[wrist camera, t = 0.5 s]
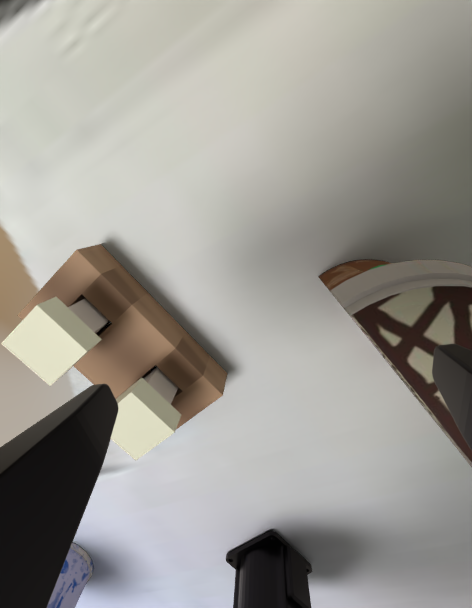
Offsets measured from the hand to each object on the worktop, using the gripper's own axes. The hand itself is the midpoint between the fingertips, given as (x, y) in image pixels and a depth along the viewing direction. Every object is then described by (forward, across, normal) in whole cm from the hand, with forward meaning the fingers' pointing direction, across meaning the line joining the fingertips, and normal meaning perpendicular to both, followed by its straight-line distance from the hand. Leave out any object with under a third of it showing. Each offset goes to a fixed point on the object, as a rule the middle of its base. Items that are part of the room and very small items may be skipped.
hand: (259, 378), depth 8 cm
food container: (+14, -9, +6) cm, 17 cm away
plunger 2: (+11, +9, +8) cm, 16 cm away
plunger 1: (+11, +13, +2) cm, 17 cm away
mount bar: (+13, +11, +6) cm, 18 cm away
